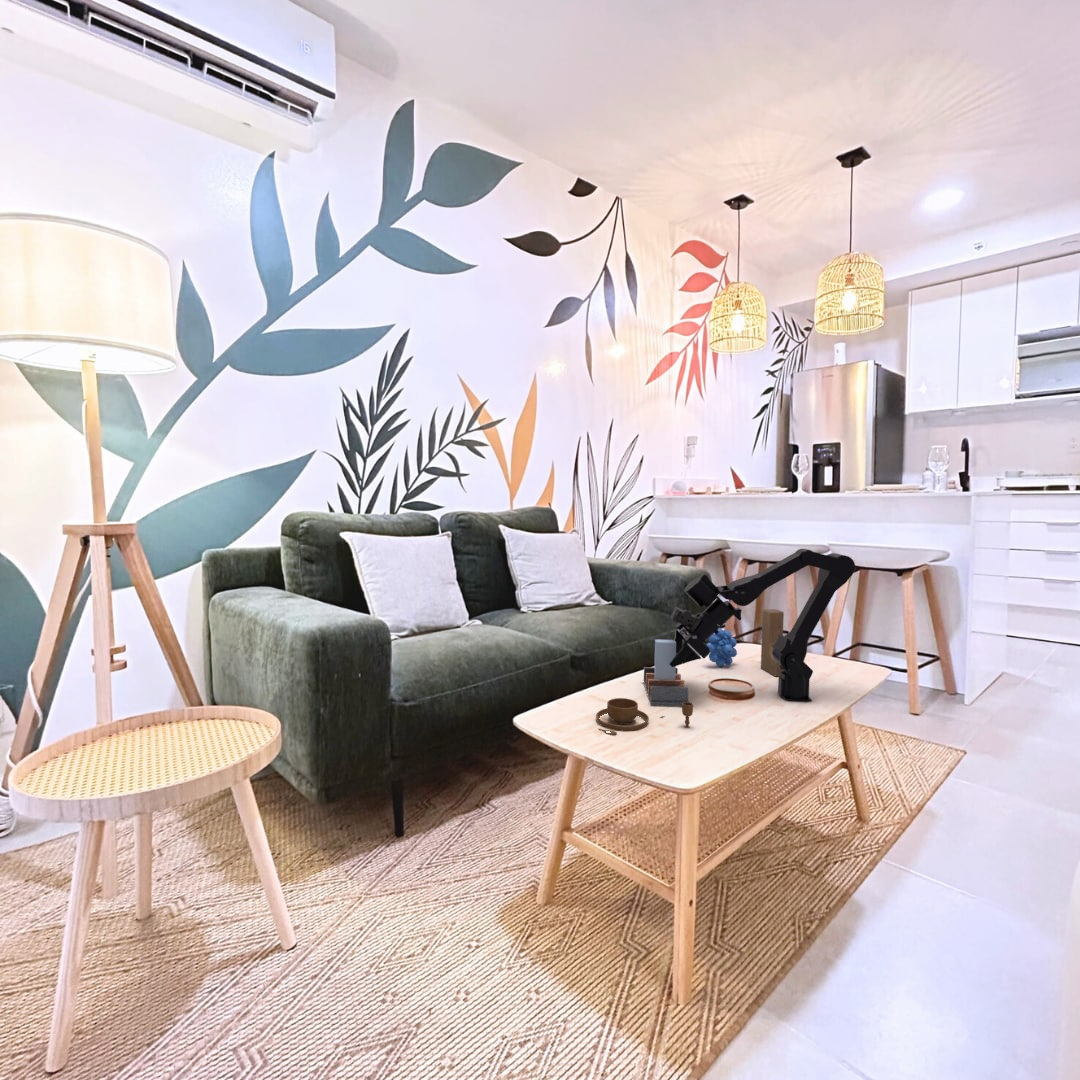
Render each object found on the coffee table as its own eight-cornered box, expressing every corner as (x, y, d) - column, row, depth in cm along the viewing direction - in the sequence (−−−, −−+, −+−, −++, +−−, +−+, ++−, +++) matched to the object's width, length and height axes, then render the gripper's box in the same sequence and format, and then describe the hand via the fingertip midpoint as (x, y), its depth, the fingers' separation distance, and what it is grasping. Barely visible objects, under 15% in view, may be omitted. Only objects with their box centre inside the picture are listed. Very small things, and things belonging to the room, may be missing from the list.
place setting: (622, 707, 149) (623, 683, 149) (697, 728, 136) (697, 702, 135) (578, 727, 136) (578, 701, 136) (655, 753, 123) (656, 724, 122)
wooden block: (790, 676, 173) (792, 614, 172) (775, 677, 172) (777, 615, 171) (774, 667, 182) (776, 608, 181) (760, 668, 181) (762, 609, 180)
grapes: (715, 672, 177) (716, 632, 176) (700, 667, 183) (701, 627, 182) (746, 668, 182) (747, 628, 181) (730, 662, 188) (731, 624, 187)
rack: (676, 683, 167) (676, 667, 166) (688, 707, 148) (688, 689, 148) (643, 682, 167) (643, 666, 167) (651, 706, 149) (651, 688, 148)
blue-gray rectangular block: (673, 688, 159) (674, 639, 158) (675, 692, 156) (676, 642, 155) (654, 688, 159) (655, 639, 158) (655, 691, 156) (656, 642, 155)
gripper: (683, 591, 165) (642, 630, 166) (696, 603, 146) (650, 647, 148) (712, 620, 165) (671, 659, 166) (729, 636, 146) (682, 680, 148)
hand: (668, 660), depth 157 cm, fingers open, 9 cm apart
